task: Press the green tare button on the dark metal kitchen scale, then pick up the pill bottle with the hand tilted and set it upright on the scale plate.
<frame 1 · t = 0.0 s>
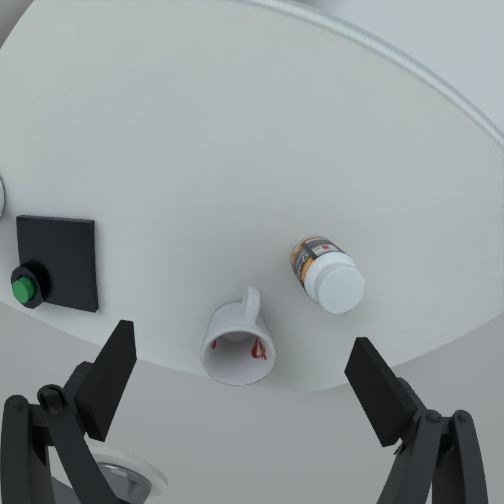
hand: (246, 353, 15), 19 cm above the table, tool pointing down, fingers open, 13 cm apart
scale: (56, 261, 32), on the table
tare button: (23, 289, 29), point 4 cm above the table, slide at 0.1 cm
pill bottle: (312, 257, 34), on the table
cup: (239, 311, 36), on the table
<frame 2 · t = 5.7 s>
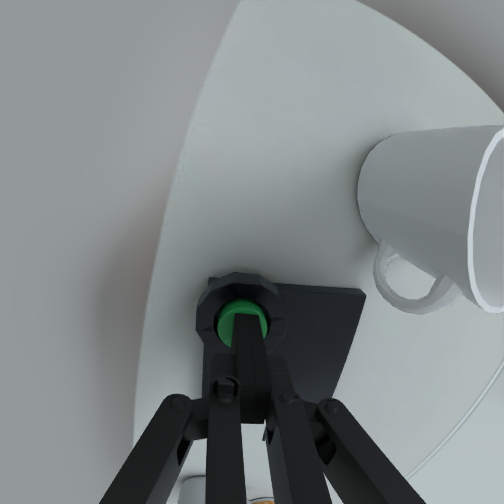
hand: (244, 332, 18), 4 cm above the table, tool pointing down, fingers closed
scale: (276, 354, 23), on the table
tare button: (241, 323, 19), point 3 cm above the table, slide at -0.6 cm, touching gripper
pill bottle: (263, 501, 33), on the table
mug: (397, 206, 20), on the table
cup: (215, 483, 30), on the table
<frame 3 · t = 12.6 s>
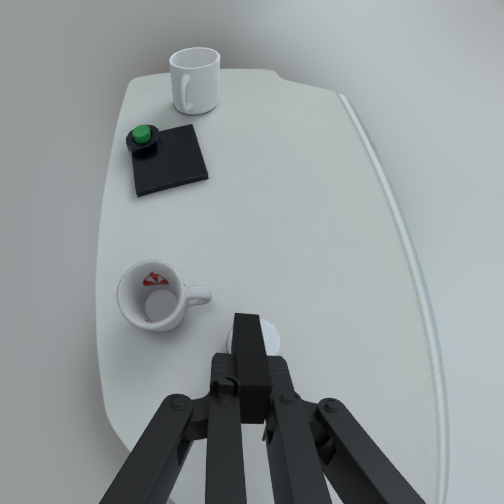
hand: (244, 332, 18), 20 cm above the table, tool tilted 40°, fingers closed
scale: (166, 159, 47), on the table
tare button: (141, 134, 44), point 3 cm above the table, slide at 0.1 cm
pill bottle: (248, 347, 36), on the table
mug: (196, 106, 53), on the table
cup: (173, 307, 37), on the table
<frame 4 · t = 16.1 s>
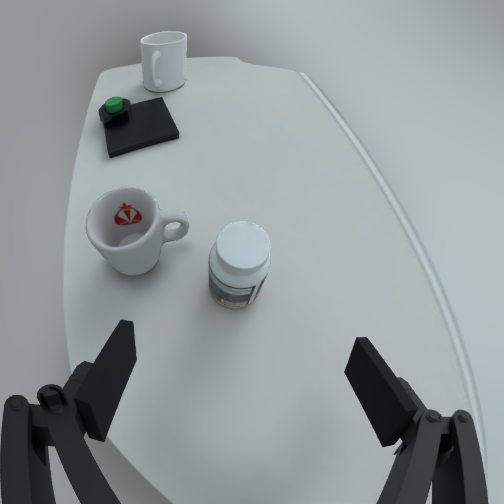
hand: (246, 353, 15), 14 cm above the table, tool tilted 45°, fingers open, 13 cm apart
scale: (138, 126, 44), on the table
tare button: (114, 104, 42), point 3 cm above the table, slide at 0.1 cm
pill bottle: (233, 287, 33), on the table
mug: (164, 86, 52), on the table
cup: (147, 252, 33), on the table
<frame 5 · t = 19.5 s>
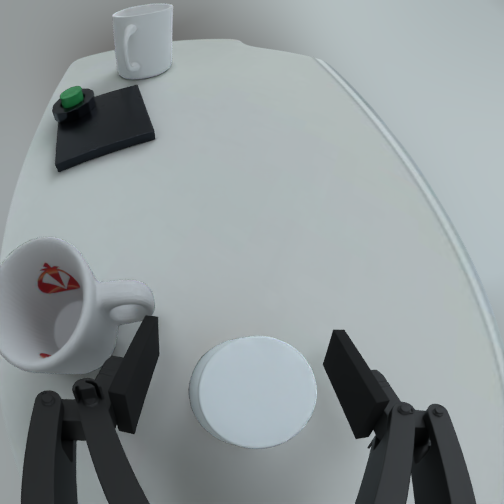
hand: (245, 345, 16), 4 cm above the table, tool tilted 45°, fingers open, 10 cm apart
scale: (101, 125, 30), on the table
tare button: (71, 97, 27), point 3 cm above the table, slide at 0.1 cm
pill bottle: (236, 393, 19), on the table
mug: (144, 72, 38), on the table
cup: (100, 331, 19), on the table
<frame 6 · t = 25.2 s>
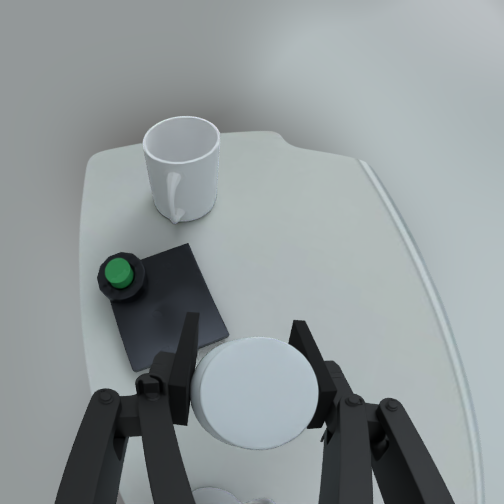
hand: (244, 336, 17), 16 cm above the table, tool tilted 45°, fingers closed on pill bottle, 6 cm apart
scale: (162, 306, 33), on the table
tare button: (119, 273, 31), point 3 cm above the table, slide at 0.1 cm
pill bottle: (236, 394, 19), point 13 cm above the table, touching gripper
mug: (185, 205, 41), on the table
cup: (223, 503, 23), on the table
when the fingers open (5 cm above the table, at t = 30.2 s): pill bottle stays where it is, resting on scale.
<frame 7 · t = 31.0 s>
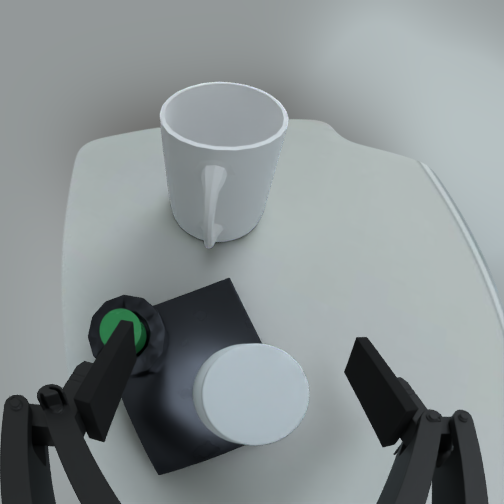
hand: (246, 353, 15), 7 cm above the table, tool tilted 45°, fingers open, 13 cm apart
scale: (194, 378, 21), on the table
tare button: (123, 332, 18), point 3 cm above the table, slide at 0.1 cm
pill bottle: (237, 394, 20), point 1 cm above the table, touching scale
mug: (219, 216, 29), on the table
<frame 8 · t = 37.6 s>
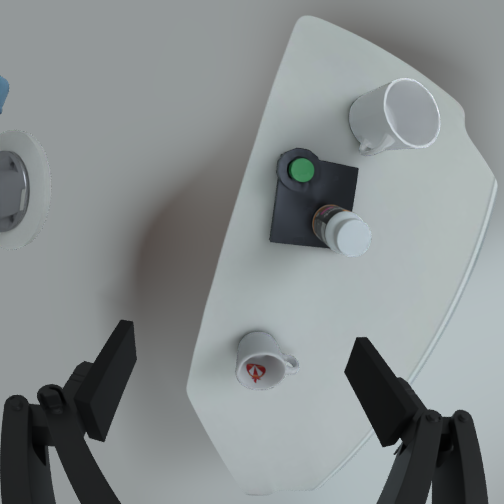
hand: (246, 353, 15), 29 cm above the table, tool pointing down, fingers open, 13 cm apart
scale: (313, 202, 42), on the table
tare button: (301, 170, 37), point 3 cm above the table, slide at 0.1 cm
pill bottle: (328, 222, 42), point 1 cm above the table, touching scale
mug: (370, 129, 40), on the table
cup: (264, 345, 49), on the table
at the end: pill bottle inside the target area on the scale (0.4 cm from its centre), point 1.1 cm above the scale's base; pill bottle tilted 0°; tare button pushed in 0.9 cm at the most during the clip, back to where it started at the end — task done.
